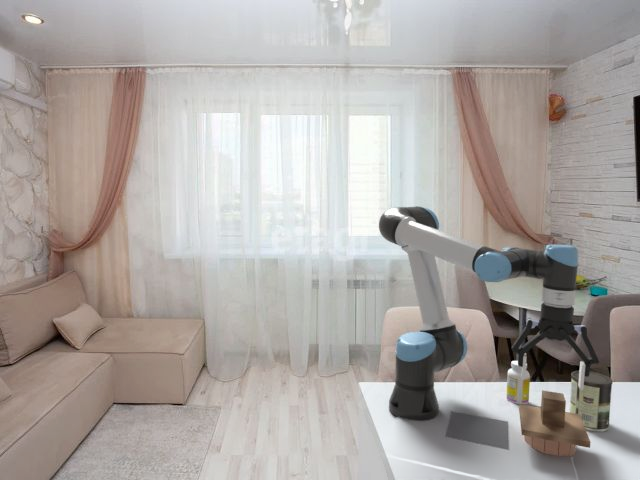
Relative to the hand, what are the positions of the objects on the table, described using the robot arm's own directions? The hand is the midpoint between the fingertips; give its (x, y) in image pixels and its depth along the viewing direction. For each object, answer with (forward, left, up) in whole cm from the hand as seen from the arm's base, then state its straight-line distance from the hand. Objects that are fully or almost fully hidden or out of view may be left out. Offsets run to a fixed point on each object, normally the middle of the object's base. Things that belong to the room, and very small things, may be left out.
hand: (551, 382), depth 117 cm
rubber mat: (-18, 0, -17) cm, 25 cm away
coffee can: (+12, +18, -17) cm, 28 cm away
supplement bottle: (-7, +25, -17) cm, 31 cm away
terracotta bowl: (0, 0, -17) cm, 17 cm away
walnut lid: (0, -2, -11) cm, 11 cm away
